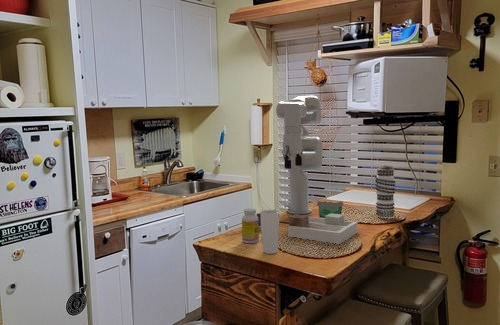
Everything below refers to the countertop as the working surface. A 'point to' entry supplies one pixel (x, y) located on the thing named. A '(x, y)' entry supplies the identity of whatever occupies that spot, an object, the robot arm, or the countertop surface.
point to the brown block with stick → (293, 220)
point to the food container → (329, 208)
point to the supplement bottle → (250, 226)
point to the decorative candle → (385, 191)
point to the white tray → (324, 231)
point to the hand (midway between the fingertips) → (293, 167)
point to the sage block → (334, 219)
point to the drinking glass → (270, 230)
